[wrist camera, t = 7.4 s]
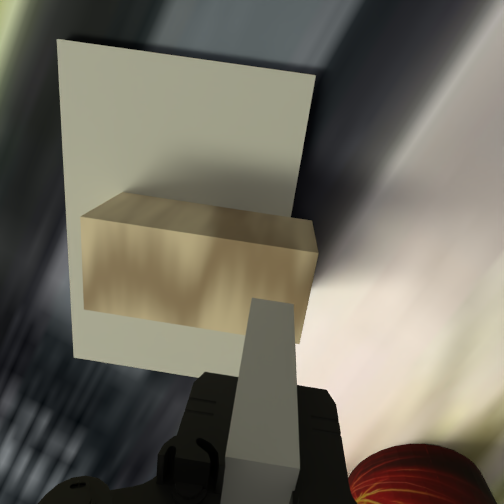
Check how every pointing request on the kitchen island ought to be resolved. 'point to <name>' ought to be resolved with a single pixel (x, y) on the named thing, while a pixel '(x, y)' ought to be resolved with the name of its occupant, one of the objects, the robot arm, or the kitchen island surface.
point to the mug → (418, 477)
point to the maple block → (193, 262)
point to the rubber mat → (172, 171)
